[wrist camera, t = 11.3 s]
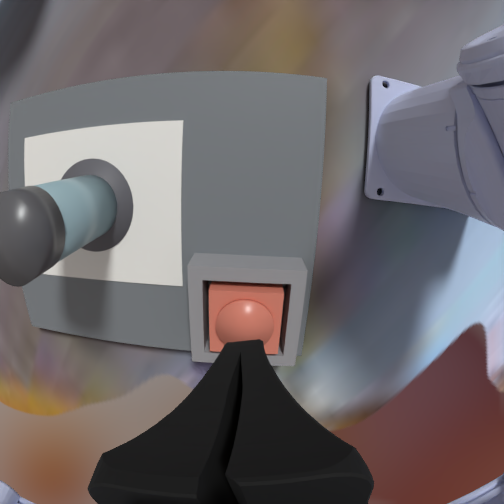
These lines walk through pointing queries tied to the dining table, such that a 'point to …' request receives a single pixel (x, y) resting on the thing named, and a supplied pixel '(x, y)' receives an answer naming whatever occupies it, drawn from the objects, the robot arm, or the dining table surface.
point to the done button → (245, 313)
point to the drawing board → (179, 200)
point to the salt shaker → (51, 224)
